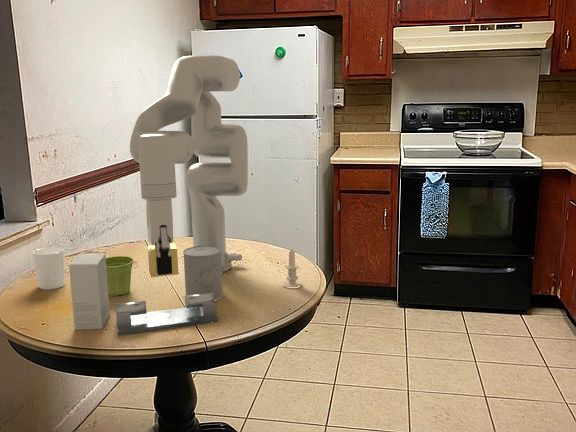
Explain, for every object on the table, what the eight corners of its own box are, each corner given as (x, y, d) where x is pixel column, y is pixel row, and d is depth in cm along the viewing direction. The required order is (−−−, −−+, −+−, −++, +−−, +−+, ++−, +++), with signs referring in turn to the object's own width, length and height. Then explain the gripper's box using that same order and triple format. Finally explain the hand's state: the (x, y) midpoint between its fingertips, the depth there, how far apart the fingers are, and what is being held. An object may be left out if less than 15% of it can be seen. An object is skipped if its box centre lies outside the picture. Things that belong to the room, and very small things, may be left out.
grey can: (229, 292, 148) (227, 247, 146) (212, 305, 140) (210, 257, 137) (196, 288, 152) (194, 244, 149) (178, 301, 143) (175, 254, 140)
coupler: (151, 277, 124) (149, 247, 123) (149, 271, 129) (147, 242, 127) (178, 274, 126) (176, 245, 125) (175, 268, 131) (174, 240, 129)
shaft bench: (210, 308, 138) (209, 286, 137) (217, 321, 129) (217, 299, 128) (116, 320, 131) (114, 297, 130) (118, 335, 123) (116, 311, 121)
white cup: (56, 291, 151) (52, 255, 149) (30, 289, 152) (26, 254, 150) (73, 281, 158) (69, 247, 156) (48, 280, 160) (44, 246, 158)
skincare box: (83, 316, 134) (77, 253, 130) (112, 315, 134) (106, 252, 131) (73, 331, 125) (66, 263, 122) (103, 329, 126) (98, 262, 123)
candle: (282, 289, 151) (281, 251, 148) (283, 282, 156) (282, 246, 153) (301, 289, 150) (301, 251, 148) (302, 282, 155) (301, 246, 153)
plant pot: (123, 300, 144) (121, 267, 142) (91, 296, 146) (88, 264, 145) (143, 288, 152) (140, 257, 151) (112, 285, 155) (110, 254, 153)
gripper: (138, 186, 130) (143, 262, 134) (144, 198, 115) (149, 284, 118) (171, 184, 133) (175, 259, 136) (181, 195, 117) (185, 280, 121)
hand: (163, 269), depth 127 cm, fingers closed on coupler, 4 cm apart
